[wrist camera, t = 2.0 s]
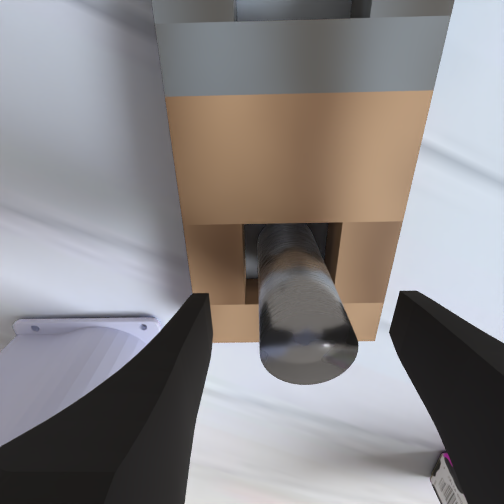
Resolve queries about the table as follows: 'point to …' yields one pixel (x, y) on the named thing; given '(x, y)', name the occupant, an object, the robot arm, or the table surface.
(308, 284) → the pin
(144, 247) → the table surface
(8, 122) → the table surface
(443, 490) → the candy bar box
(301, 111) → the dock board
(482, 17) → the table surface
